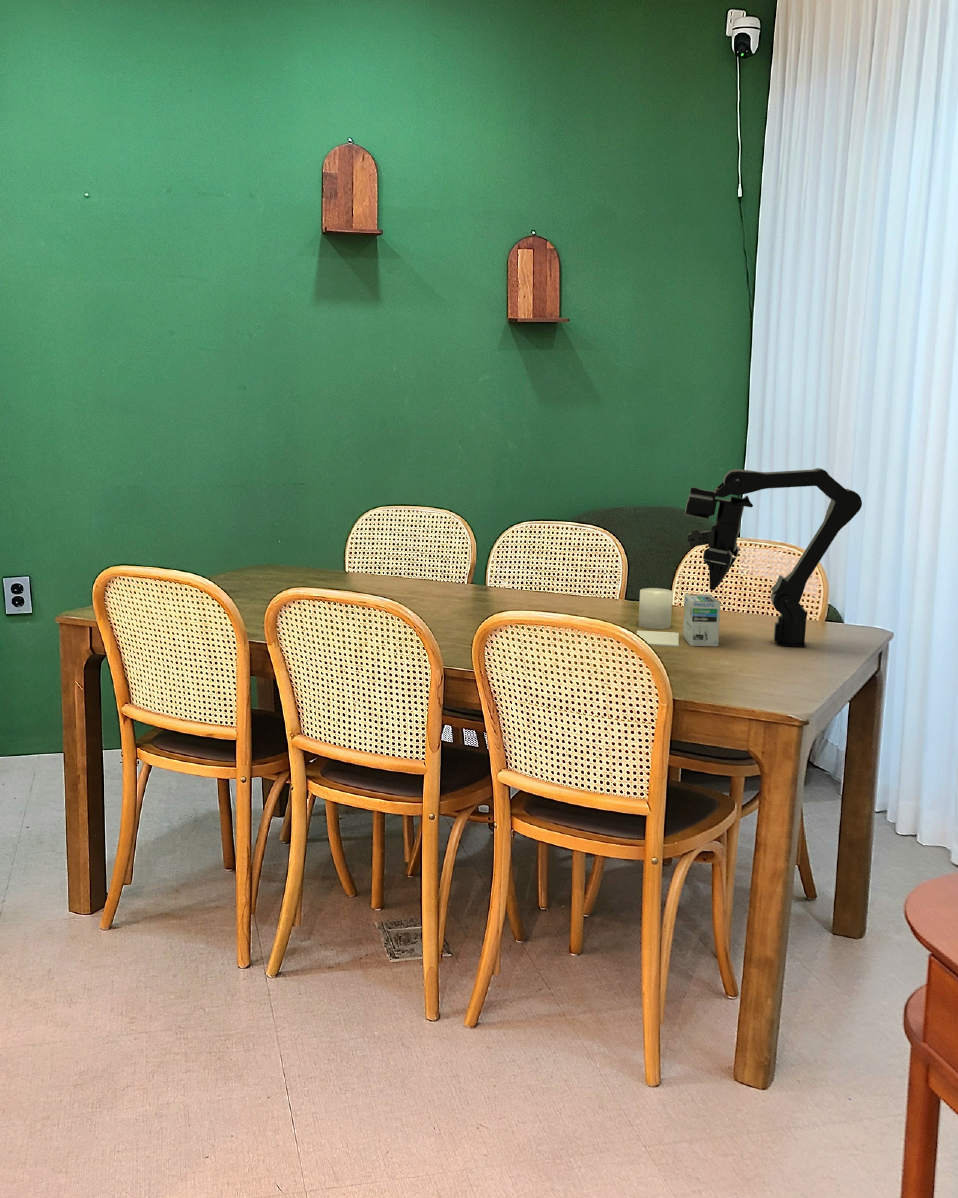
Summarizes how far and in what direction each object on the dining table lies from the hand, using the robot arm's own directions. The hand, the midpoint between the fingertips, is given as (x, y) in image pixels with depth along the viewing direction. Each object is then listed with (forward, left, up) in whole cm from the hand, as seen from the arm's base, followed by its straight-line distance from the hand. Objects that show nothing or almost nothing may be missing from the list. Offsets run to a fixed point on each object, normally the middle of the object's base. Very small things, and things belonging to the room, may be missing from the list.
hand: (714, 587), depth 260 cm
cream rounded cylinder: (+14, -13, -13) cm, 23 cm away
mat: (+13, +3, -13) cm, 18 cm away
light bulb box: (+3, +3, -13) cm, 14 cm away
